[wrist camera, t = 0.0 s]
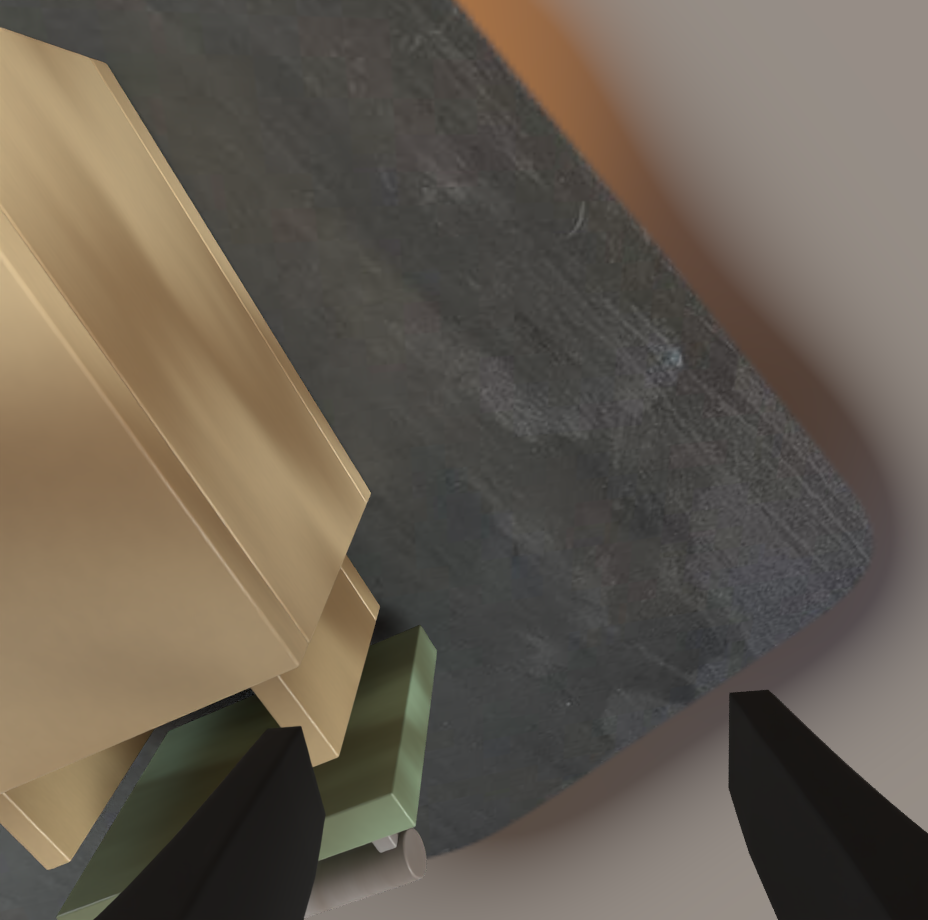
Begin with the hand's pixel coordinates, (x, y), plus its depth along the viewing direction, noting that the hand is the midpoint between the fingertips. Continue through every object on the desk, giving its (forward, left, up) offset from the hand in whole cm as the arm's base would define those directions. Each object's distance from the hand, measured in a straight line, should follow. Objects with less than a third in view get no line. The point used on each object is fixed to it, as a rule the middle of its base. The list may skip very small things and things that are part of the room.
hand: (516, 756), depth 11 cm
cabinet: (+5, +12, -11) cm, 17 cm away
